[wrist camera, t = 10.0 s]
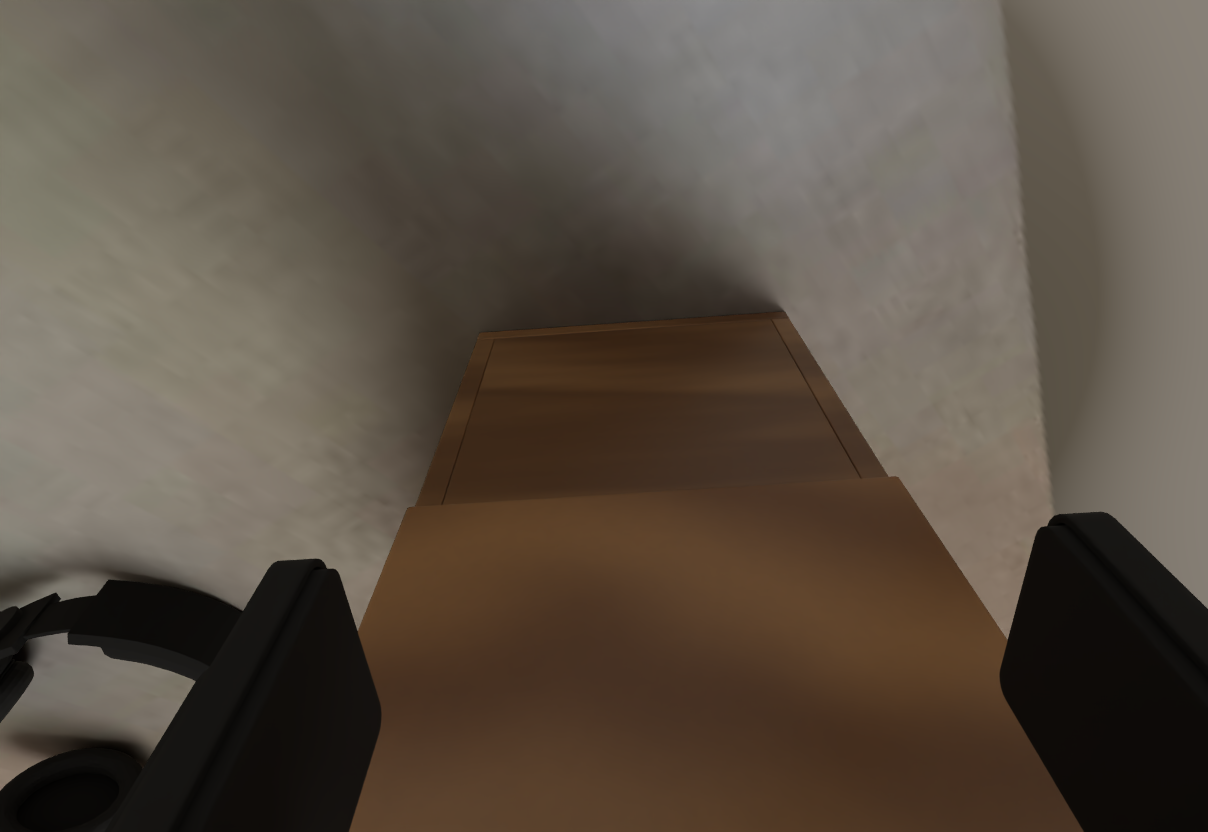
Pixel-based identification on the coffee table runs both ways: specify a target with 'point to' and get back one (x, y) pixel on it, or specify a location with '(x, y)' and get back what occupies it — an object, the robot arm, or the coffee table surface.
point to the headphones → (123, 631)
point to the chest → (643, 413)
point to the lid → (691, 670)
